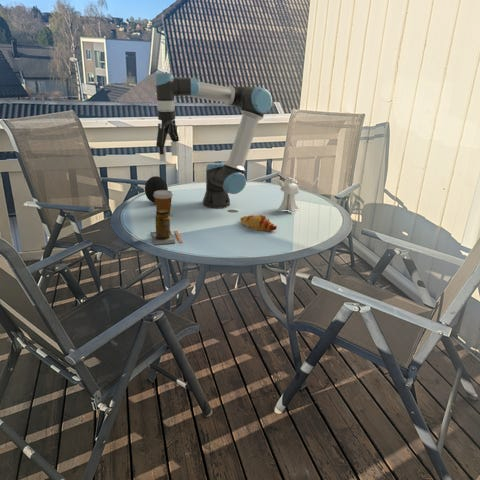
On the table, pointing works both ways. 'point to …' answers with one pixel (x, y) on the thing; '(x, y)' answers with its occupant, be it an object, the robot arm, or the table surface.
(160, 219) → the condiment
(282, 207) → the white mech figurine
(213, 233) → the table surface
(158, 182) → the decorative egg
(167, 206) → the disposable coffee cup
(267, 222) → the croissant
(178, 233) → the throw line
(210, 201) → the robot arm
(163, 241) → the mat
